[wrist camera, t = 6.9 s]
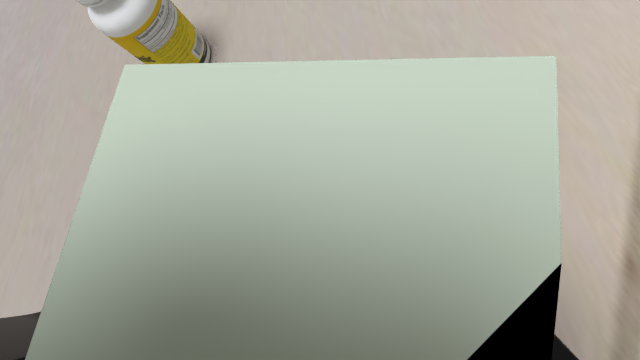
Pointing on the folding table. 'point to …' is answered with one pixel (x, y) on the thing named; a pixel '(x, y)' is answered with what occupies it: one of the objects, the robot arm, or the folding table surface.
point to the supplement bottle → (149, 30)
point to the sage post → (316, 215)
